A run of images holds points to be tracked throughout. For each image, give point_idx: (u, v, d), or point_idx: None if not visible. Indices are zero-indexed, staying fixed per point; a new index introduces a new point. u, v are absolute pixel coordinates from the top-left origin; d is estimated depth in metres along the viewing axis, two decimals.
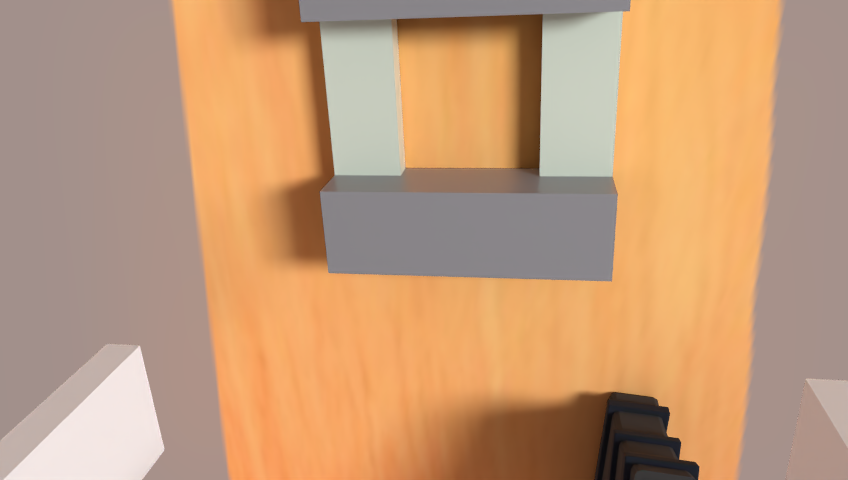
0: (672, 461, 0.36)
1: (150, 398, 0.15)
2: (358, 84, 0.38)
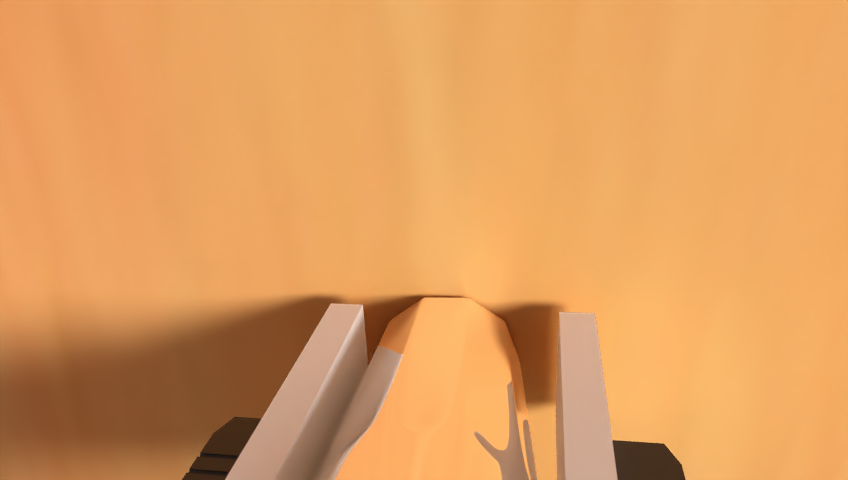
0: None
1: (365, 354, 0.16)
2: None
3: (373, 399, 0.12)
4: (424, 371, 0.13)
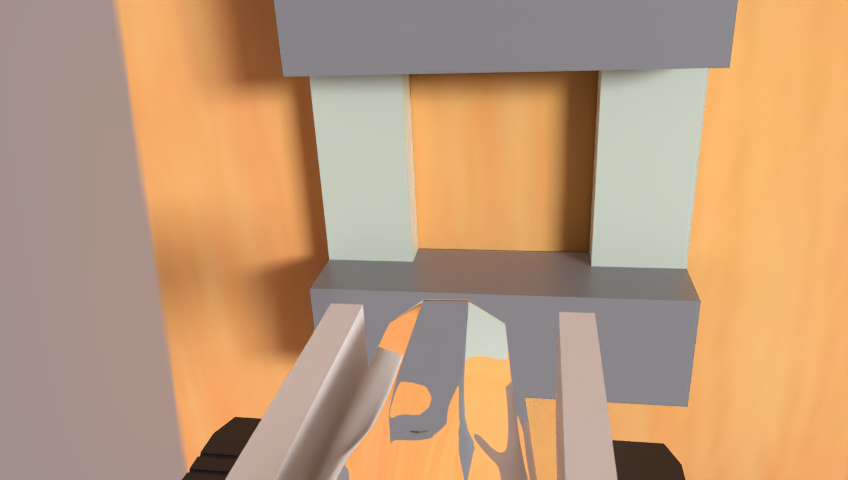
0: None
1: (365, 354, 0.16)
2: (359, 149, 0.30)
3: (373, 403, 0.12)
4: (424, 374, 0.13)
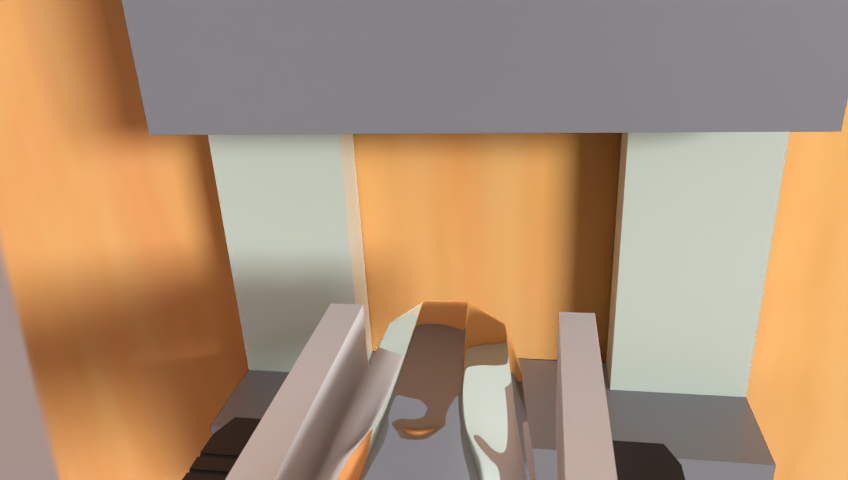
0: None
1: (365, 354, 0.16)
2: (281, 227, 0.21)
3: (373, 403, 0.12)
4: (424, 374, 0.13)
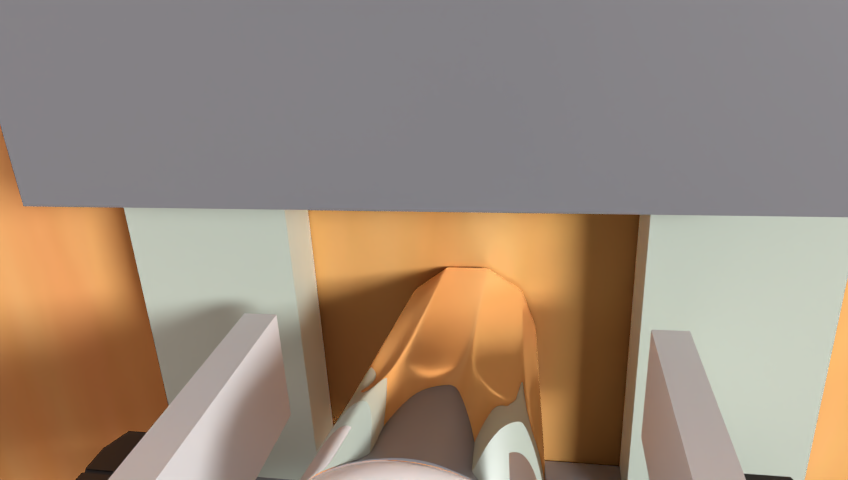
0: None
1: (281, 365, 0.16)
2: (216, 306, 0.17)
3: (394, 352, 0.14)
4: (441, 328, 0.14)
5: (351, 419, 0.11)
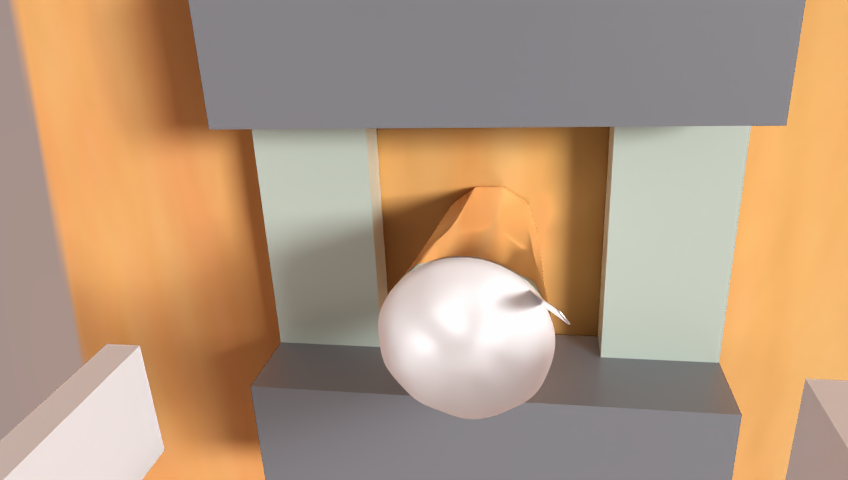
0: None
1: (150, 398, 0.15)
2: (314, 213, 0.24)
3: (446, 226, 0.21)
4: (477, 213, 0.21)
5: (427, 251, 0.19)
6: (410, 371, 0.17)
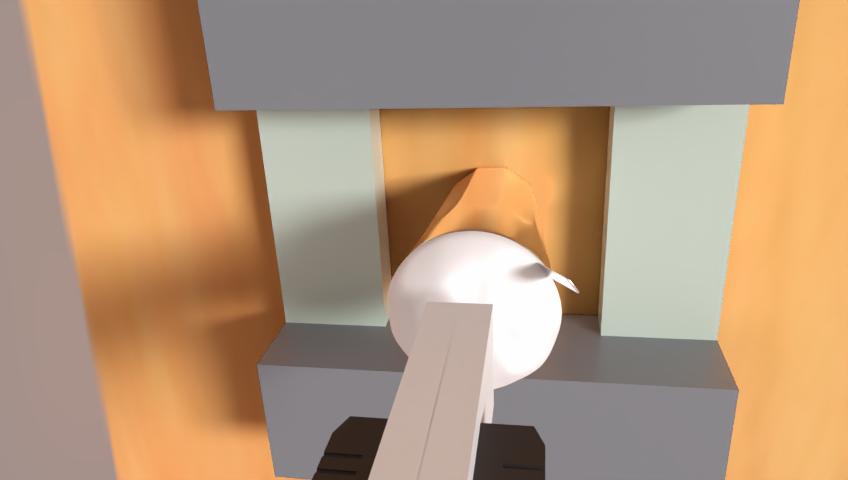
0: None
1: None
2: (318, 194, 0.25)
3: (452, 204, 0.21)
4: (481, 191, 0.22)
5: (435, 226, 0.19)
6: None
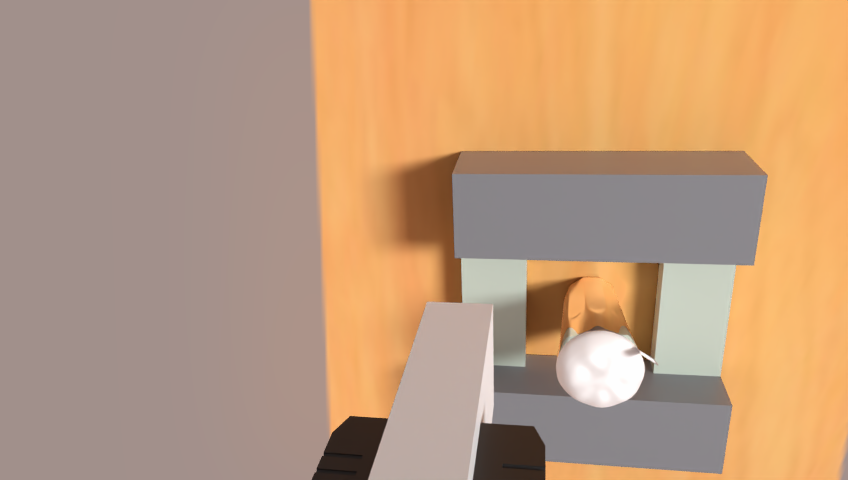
0: None
1: None
2: (492, 292, 0.43)
3: (578, 306, 0.40)
4: (593, 298, 0.40)
5: (577, 324, 0.37)
6: (575, 384, 0.36)
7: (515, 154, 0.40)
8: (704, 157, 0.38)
